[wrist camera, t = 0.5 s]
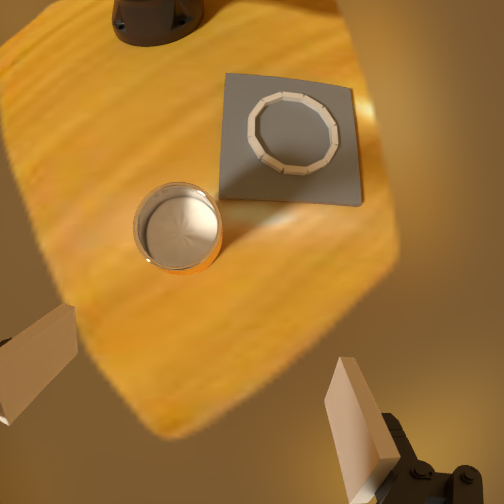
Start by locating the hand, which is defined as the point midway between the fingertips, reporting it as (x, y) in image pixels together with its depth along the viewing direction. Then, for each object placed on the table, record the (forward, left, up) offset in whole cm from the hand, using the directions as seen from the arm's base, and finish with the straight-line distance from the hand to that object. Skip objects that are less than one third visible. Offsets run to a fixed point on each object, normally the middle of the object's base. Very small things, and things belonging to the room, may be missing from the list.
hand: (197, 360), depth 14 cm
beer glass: (-8, -2, -23) cm, 24 cm away
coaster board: (-23, +10, -23) cm, 34 cm away
